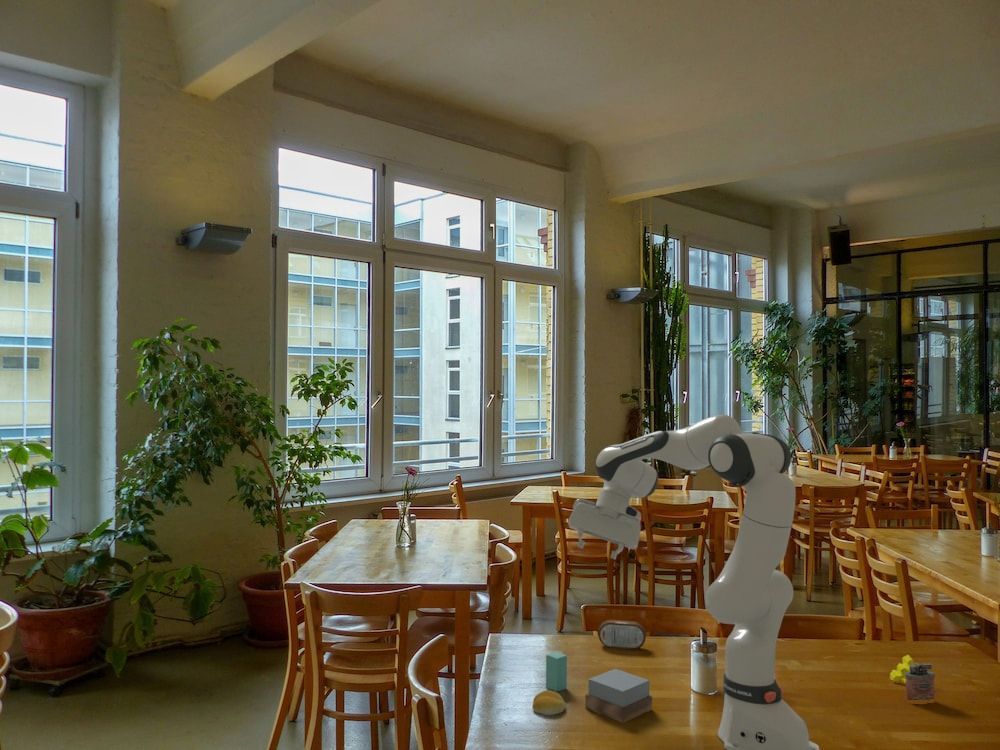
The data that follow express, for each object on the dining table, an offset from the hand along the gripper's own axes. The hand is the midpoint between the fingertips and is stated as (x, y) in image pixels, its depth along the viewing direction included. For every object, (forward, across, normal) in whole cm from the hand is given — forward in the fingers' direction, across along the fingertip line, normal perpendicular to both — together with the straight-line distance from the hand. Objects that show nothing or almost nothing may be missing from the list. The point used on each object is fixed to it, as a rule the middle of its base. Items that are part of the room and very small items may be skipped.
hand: (596, 552), depth 215 cm
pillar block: (+35, 0, +15) cm, 38 cm away
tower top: (+33, +16, +3) cm, 37 cm away
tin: (+13, +13, +47) cm, 50 cm away
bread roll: (+42, +1, +3) cm, 43 cm away
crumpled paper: (-2, +91, +31) cm, 96 cm away
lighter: (+5, +91, +19) cm, 93 cm away
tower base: (+36, +18, +5) cm, 40 cm away
